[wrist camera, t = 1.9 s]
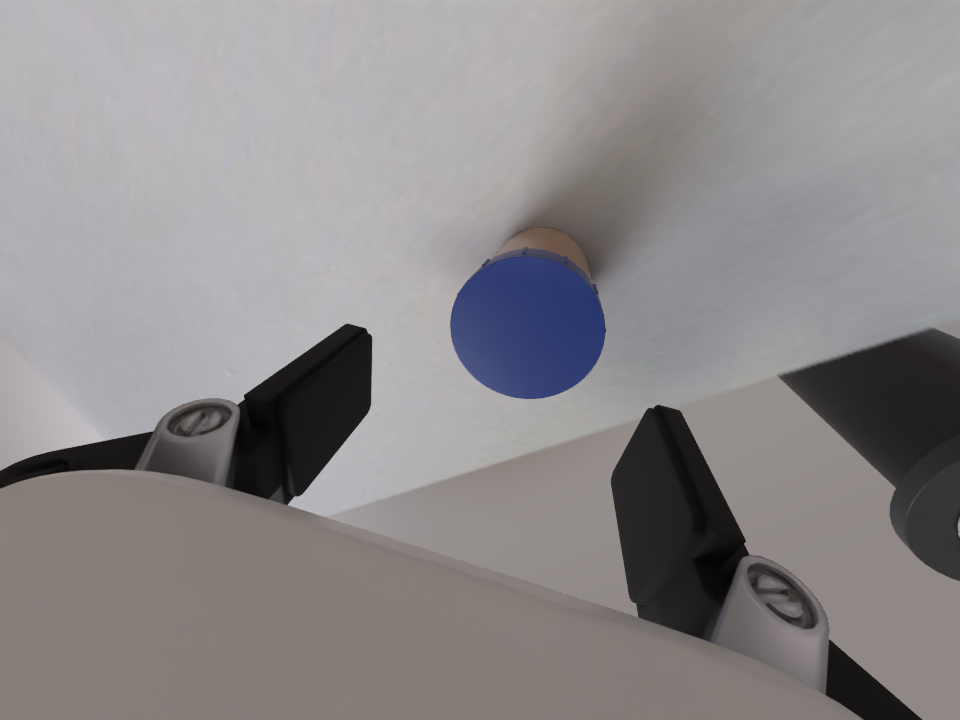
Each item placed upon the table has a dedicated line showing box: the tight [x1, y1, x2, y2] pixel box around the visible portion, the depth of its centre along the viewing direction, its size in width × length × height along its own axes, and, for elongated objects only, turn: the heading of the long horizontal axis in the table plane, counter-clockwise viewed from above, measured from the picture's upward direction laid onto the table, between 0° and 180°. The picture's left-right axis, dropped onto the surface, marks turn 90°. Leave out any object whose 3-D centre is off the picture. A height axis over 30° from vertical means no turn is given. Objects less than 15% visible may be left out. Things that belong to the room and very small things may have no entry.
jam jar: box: [492, 227, 592, 282], centre depth 20 cm, size 7×7×10 cm
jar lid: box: [450, 247, 606, 399], centre depth 16 cm, size 7×7×2 cm
